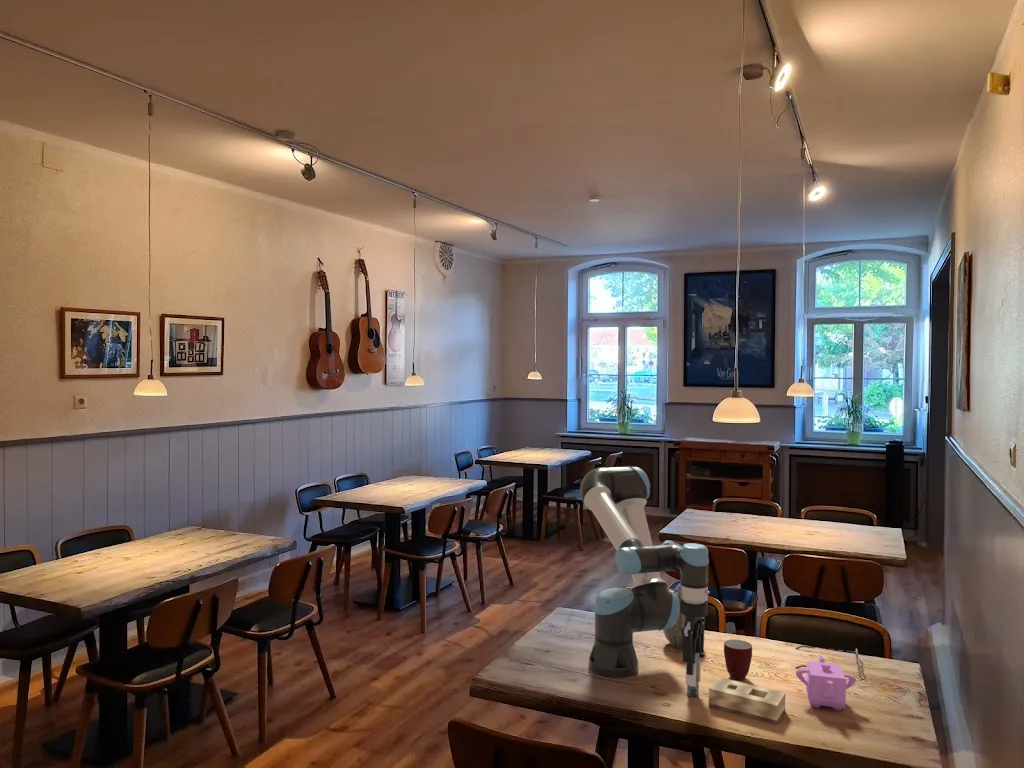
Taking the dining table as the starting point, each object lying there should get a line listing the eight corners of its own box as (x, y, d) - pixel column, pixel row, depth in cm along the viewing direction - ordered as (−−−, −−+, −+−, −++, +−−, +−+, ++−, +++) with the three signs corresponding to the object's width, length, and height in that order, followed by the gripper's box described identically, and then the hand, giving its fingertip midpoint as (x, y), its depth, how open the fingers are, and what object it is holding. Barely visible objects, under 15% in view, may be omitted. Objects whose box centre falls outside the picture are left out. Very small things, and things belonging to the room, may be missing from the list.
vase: (706, 653, 237) (707, 599, 236) (666, 652, 237) (667, 598, 237) (697, 638, 250) (697, 587, 250) (658, 637, 250) (659, 587, 250)
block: (708, 706, 198) (708, 688, 198) (718, 694, 206) (719, 677, 206) (777, 724, 188) (777, 705, 188) (785, 711, 196) (785, 692, 196)
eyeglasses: (862, 679, 218) (861, 666, 218) (794, 671, 225) (794, 658, 225) (857, 658, 235) (857, 645, 235) (795, 651, 242) (794, 639, 242)
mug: (745, 688, 210) (745, 654, 210) (717, 682, 214) (718, 648, 214) (754, 676, 219) (755, 642, 219) (727, 669, 223) (728, 637, 223)
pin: (685, 695, 205) (685, 653, 205) (689, 691, 208) (689, 649, 207) (696, 698, 203) (696, 655, 203) (700, 694, 206) (700, 652, 206)
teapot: (866, 710, 197) (866, 670, 197) (830, 719, 191) (830, 678, 191) (820, 688, 211) (821, 650, 211) (786, 696, 205) (786, 658, 205)
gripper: (697, 610, 196) (696, 696, 196) (716, 595, 210) (715, 676, 210) (670, 605, 200) (669, 689, 201) (691, 590, 214) (690, 670, 214)
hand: (693, 682), depth 205 cm, fingers closed on pin, 3 cm apart
